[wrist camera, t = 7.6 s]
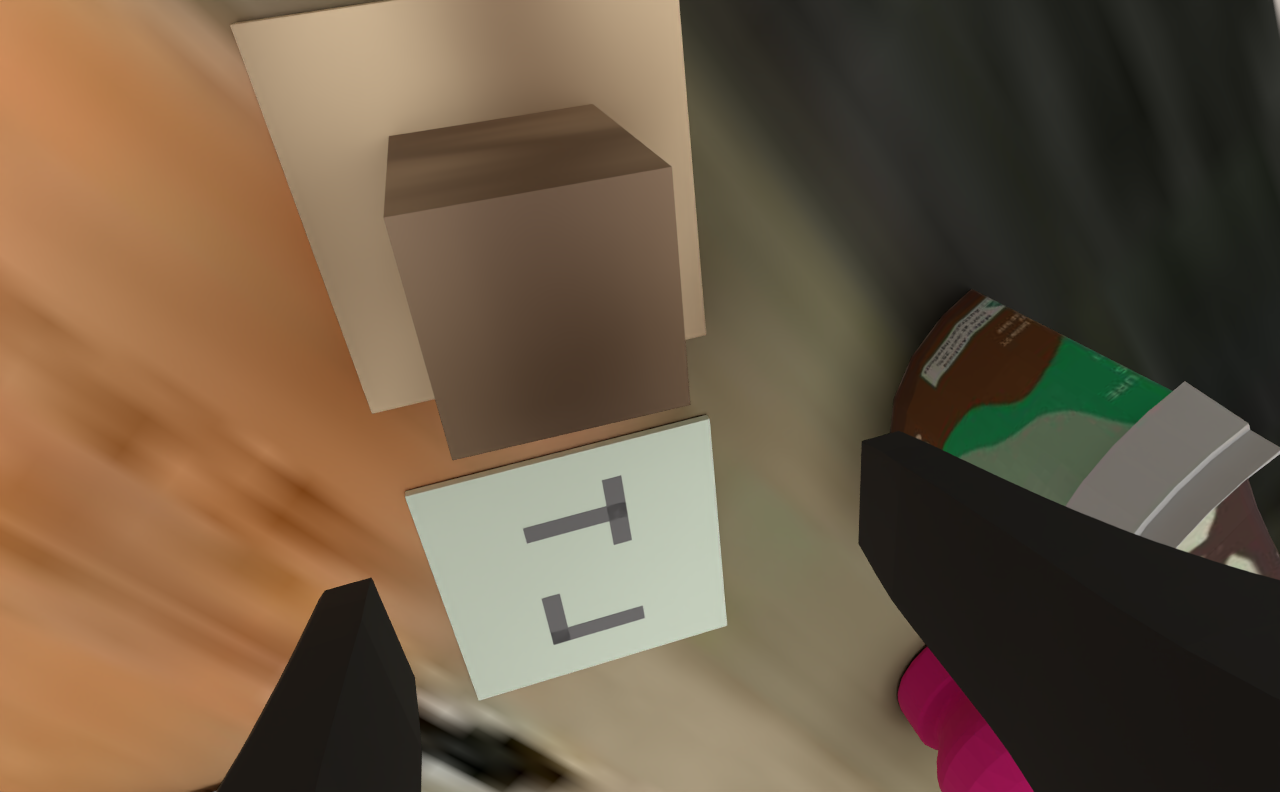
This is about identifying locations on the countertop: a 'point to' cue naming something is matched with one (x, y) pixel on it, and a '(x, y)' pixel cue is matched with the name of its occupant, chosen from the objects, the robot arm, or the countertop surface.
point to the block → (538, 274)
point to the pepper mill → (956, 732)
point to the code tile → (577, 554)
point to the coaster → (442, 97)
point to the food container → (1088, 433)
